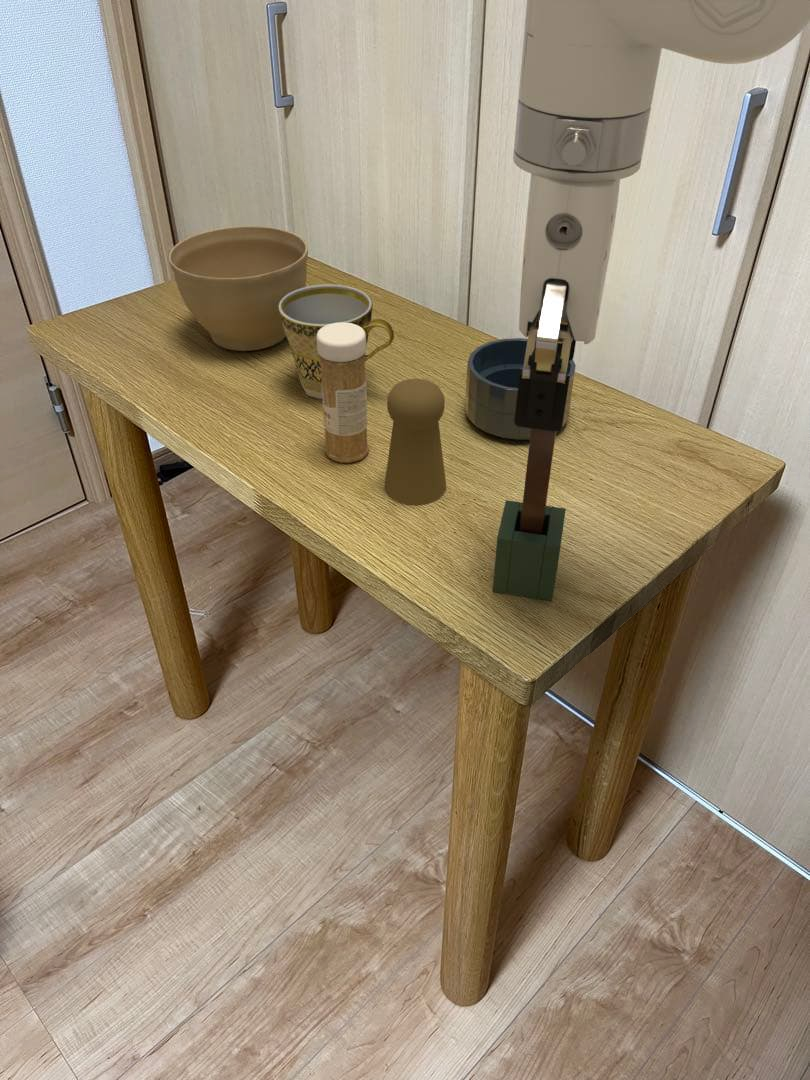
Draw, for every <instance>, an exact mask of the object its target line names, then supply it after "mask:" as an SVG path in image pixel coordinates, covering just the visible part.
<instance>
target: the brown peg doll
mask: <svg viewBox="0 0 810 1080" xmlns="http://www.w3.org/2000/svg"><path fill="white" fill-rule="evenodd" d="M445 400H446V399H445V394H444V393H443V391H442V389H441V388H440V386H439V385H438V384H436V383H435V382H433V381H431V380H428V379H423V378H408V379H404V380H402V381H398V382H397V383H396V384H394V385H393V386H392V388H391V390H390V391H389V393H388V395H387V402H386V403H387V404H386V406H387V408H386V409H387V412H388V415H389V417H390V419H391V421H393V422H392V429H391V436H390V442H389V443H390V444H389V450H388V457H387V464H386V471H385V478H384V487H383V488H384V491H385V493H386V495H387V496H388V497H390V498H391V499H392V500H394V501H396V502H398V503H400V504H405V505H409V506H410V505H411V506H413V505H414V506H421V505H425V504H426V505H427V504H431V503H433V502H435V501H438V500H439V499H440V498H441V497H442V496H444V494H445V492H446V490H447V482H446V473H445V472H446V471H445V465H444V456H443V447H442V439H441V433H440V424H439V421H440V420H441V418H442V417H443V414H444V412H445V405H446V404H445V403H446V401H445Z"/></svg>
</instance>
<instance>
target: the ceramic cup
mask: <svg viewBox="0 0 810 1080" xmlns="http://www.w3.org/2000/svg"><path fill="white" fill-rule="evenodd" d="M279 312H280V316H281V320H282V324H283V327H284V331H285V334H286V339H287V341H288V344H289V346H290V350H291V355H292V357H293V361H294V365H295V367H296V372H297V376H298V379H299V382H300V384H301V387H302V388H303V390H304V392H305V394H306V395H307V397H311V398H315V399H318V400H322V378H321V364H320V357H319V353H318V350H317V333H318V331H319V330H320V329H321V328H322V327H324V326H326V325H329V324H332V323H340V322H345V323H352V324H355V325H358V326H360V327H361V328H362V329H363V330H364V331H365V334H366V347H367V345H368V340H369V334H370V332H371V330H373V329H374V328H382V329H384V330H386V331H387V333H388V335H389V338H388V341H387V342H386V343H383V344H382V345H379V346H378V347H376V348H375V349H373V350H372V351H371V352H370V353H369V354H366V352H367V351H366V352H365V362H367V361H368V360H370V359H371V358H373V357H374V356H375V355H376V354H377V353H379V352H380V351H383V350H384V349H387V348H388V347H389V346H391V345H392V343H393V342H394V338H395V333H394V330H393V327H392V325H391V324H390V323H389V322H388V321H386V320H384V319H381V318H376V319H373V320H372V315H373V300H372V298H371V297H370V295H368V293H366V292H364V291H363V290H361V289H359V288H356V287H353V286H349V285H343V284H336V283H335V284H333V283H327V284H323V283H322V284H314V285H308V286H305V287H303V288H300V289H297V290H295V291H292V292H290V293H289V294H287V295H286V296H285V297H283V298H282V300H281V301H280V303H279Z"/></svg>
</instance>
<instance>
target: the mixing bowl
mask: <svg viewBox="0 0 810 1080" xmlns="http://www.w3.org/2000/svg"><path fill="white" fill-rule="evenodd" d="M527 340H528V338H521V337H518V338H517V337H515V338H501V339H496V340H492V341H488V342H485V343H483V344H482V345H479V346H477V347H476V348H475V349H474V350H472V351H471V353H469V357H468V360H467V366H466V384H465V385H466V386H465V403H464V404H465V407H464V409H465V413H466V416H467V418H468V420H469V421H470V422H471V423H472V424H473V425H474V426H475V427H477V428H478V429H480V430H482V431H483V432H485V433H488V434H490V435H493V436H496V437H499V438H502V439H507V440H512V441H513V440H514V441H525V440H526V441H527V440H528V441H529V440H530V434H531V428H524V427H518V426H516V425H515V423H514V419H515V410H516V401H517V392H518V383H519V374H520V370H523V366H524V360H525V353H526V347H527ZM576 367H577V366H576V363H575V361H574V358H573V359H572V360H571V361H568V366H567V373H566V376H570V379H569V386H568V392H567V399H566V405H565V412H564V418H563V425H562V428H563V427H564V426H565V425H566V424H567V422H568V421H569V414H570V407H571V401H572V395H573V394H572V393H573V386H574V380H575V373H576ZM558 371H559V369H558Z"/></svg>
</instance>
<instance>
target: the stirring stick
mask: <svg viewBox="0 0 810 1080" xmlns="http://www.w3.org/2000/svg"><path fill="white" fill-rule="evenodd" d="M556 436H557V432H554V431H547V430H539V429H532V428H531V434H530V439H529V445H528V453H527V462H526V470H525V478H524V479H525V480H524V489H523V497H522V502H523V505H522V514H521V522H520V531H519V532H526V533H533V534H540V535H542V532H543V525H544V518H545V510H546V506H547V503H548V502H547V501H548V495H549V488H550V480H551V472H552V466H553V458H554V453H555V452H554V451H555V443H556V438H557V437H556Z"/></svg>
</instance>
